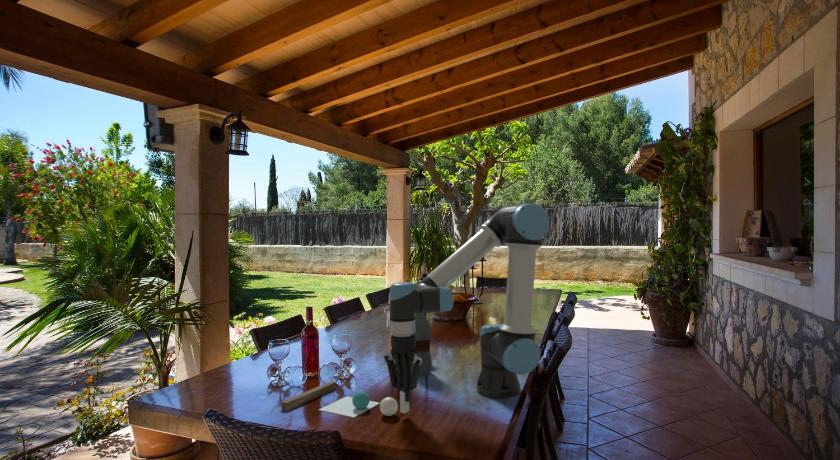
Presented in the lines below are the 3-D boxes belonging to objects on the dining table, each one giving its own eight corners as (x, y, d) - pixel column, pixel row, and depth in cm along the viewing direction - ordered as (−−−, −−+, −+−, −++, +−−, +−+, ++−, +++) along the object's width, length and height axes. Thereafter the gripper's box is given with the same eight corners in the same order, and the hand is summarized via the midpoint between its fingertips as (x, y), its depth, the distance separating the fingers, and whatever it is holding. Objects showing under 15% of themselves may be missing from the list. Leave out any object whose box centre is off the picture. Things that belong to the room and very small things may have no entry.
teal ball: (369, 387, 164) (357, 392, 167) (358, 391, 159) (346, 396, 162) (375, 403, 163) (363, 408, 165) (364, 409, 158) (352, 413, 161)
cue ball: (387, 391, 159) (383, 407, 160) (378, 398, 154) (374, 414, 155) (402, 398, 157) (398, 414, 158) (393, 405, 152) (390, 421, 153)
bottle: (429, 377, 194) (427, 299, 194) (406, 376, 196) (404, 299, 196) (433, 370, 203) (432, 295, 203) (411, 369, 205) (409, 295, 205)
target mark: (380, 403, 167) (380, 402, 167) (353, 417, 155) (353, 417, 155) (346, 396, 174) (346, 396, 174) (318, 410, 162) (318, 409, 162)
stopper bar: (335, 389, 183) (335, 382, 183) (287, 410, 162) (287, 403, 162) (330, 388, 184) (330, 381, 184) (281, 409, 163) (281, 401, 163)
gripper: (427, 333, 154) (429, 411, 154) (391, 329, 160) (393, 404, 160) (415, 338, 147) (417, 419, 147) (378, 334, 154) (380, 412, 154)
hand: (404, 411), depth 154 cm, fingers closed
